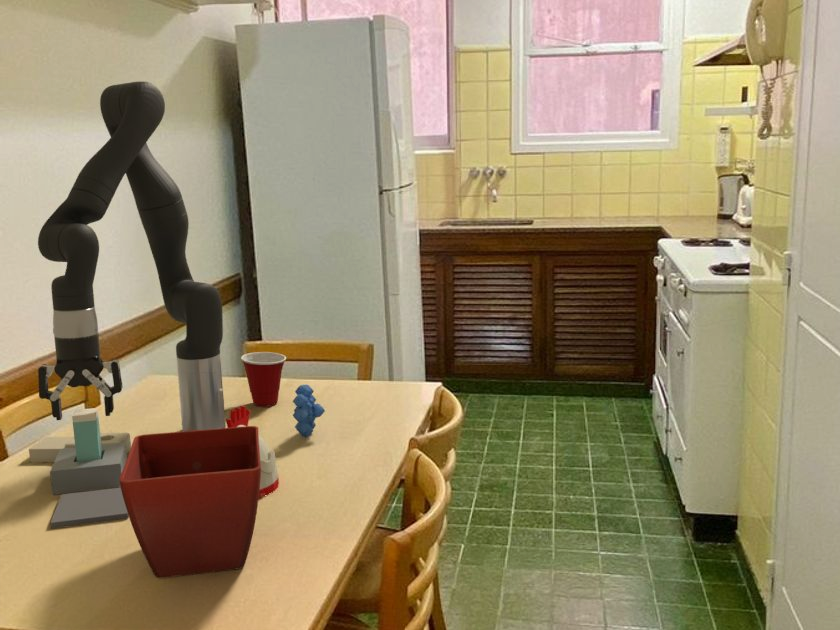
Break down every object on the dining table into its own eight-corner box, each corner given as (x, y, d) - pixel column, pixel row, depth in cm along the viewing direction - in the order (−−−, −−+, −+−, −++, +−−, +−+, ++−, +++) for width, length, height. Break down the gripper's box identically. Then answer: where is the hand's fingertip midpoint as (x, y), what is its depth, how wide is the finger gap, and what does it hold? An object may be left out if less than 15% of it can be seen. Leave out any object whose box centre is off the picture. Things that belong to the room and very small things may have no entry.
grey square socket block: (127, 463, 164) (125, 442, 163) (122, 486, 153) (120, 463, 152) (62, 470, 161) (60, 448, 160) (52, 494, 150) (50, 471, 149)
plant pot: (268, 577, 119) (261, 467, 116) (128, 595, 115) (117, 481, 112) (264, 521, 137) (258, 424, 134) (144, 534, 133) (134, 435, 130)
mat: (132, 491, 151) (132, 486, 150) (127, 518, 139) (127, 513, 139) (62, 499, 148) (61, 494, 147) (51, 528, 136) (50, 522, 136)
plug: (104, 473, 159) (97, 407, 157) (102, 481, 156) (95, 414, 153) (82, 475, 158) (75, 409, 156) (79, 483, 155) (72, 416, 152)
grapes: (321, 446, 171) (318, 391, 169) (288, 446, 172) (285, 391, 170) (331, 428, 183) (328, 375, 180) (300, 428, 183) (298, 375, 181)
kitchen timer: (292, 477, 156) (287, 401, 153) (254, 507, 143) (249, 424, 140) (227, 469, 160) (222, 395, 157) (186, 497, 147) (179, 417, 145)
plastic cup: (284, 409, 197) (282, 360, 194) (239, 410, 197) (236, 361, 195) (292, 396, 207) (289, 350, 205) (249, 397, 208) (246, 350, 205)
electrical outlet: (45, 432, 173) (130, 431, 172) (47, 451, 174) (131, 450, 173) (28, 444, 166) (116, 443, 165) (30, 463, 167) (118, 463, 166)
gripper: (119, 326, 157) (125, 408, 160) (38, 330, 153) (46, 414, 156) (115, 333, 150) (122, 419, 153) (30, 338, 146) (39, 426, 149)
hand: (83, 417), depth 155 cm, fingers open, 8 cm apart
